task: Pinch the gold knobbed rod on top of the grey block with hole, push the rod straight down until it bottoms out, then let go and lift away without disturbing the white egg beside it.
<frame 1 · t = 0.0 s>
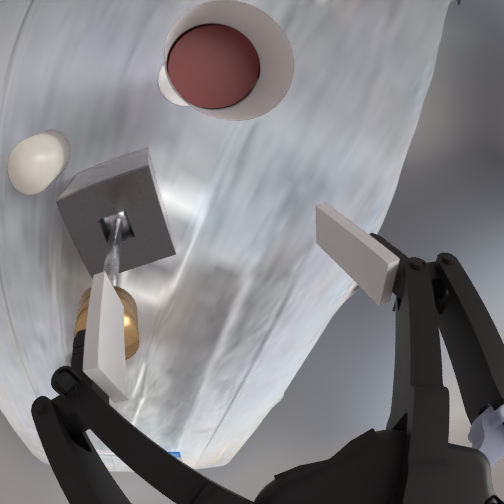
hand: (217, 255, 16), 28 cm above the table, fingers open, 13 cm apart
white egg: (49, 153, 31), on the table
ink box: (170, 454, 89), on the table
gold knobbed rod: (111, 263, 23), point 19 cm above the table, slide at 0.2 cm, touching gripper
grey block with hole: (122, 193, 38), on the table
wineglass: (187, 78, 33), on the table
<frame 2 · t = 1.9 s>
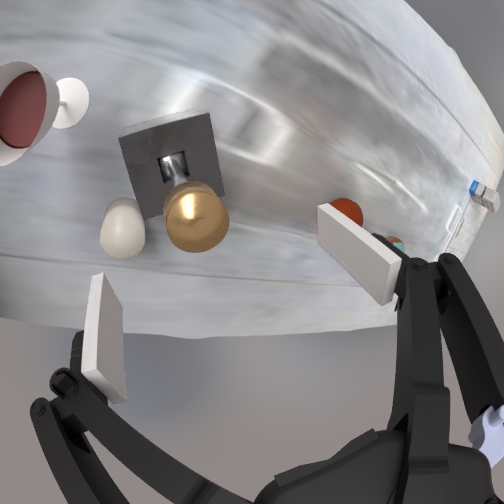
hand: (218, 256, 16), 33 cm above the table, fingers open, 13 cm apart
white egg: (124, 216, 45), on the table
ink box: (473, 190, 80), on the table
gold knobbed rod: (181, 184, 27), point 19 cm above the table, slide at 0.2 cm
grey block with hole: (166, 149, 42), on the table
donut: (382, 252, 75), on the table
fruit: (333, 211, 61), on the table
wineglass: (65, 103, 32), on the table
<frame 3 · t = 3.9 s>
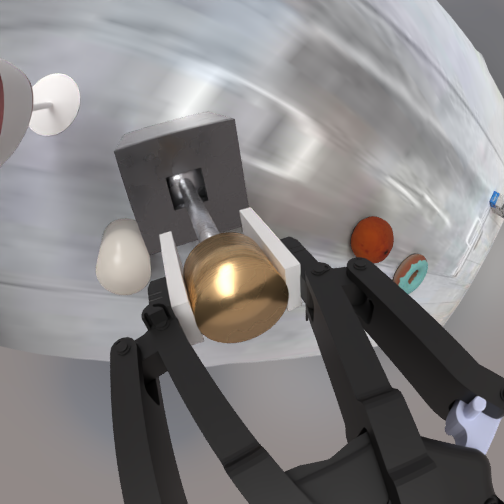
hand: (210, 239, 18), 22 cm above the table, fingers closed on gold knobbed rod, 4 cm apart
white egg: (125, 240, 38), on the table
ink box: (493, 201, 73), on the table
gold knobbed rod: (201, 221, 20), point 19 cm above the table, slide at 0.2 cm, touching gripper
grey block with hole: (175, 160, 35), on the table
donut: (405, 270, 68), on the table
fruit: (361, 230, 54), on the table
wineglass: (51, 104, 25), on the table
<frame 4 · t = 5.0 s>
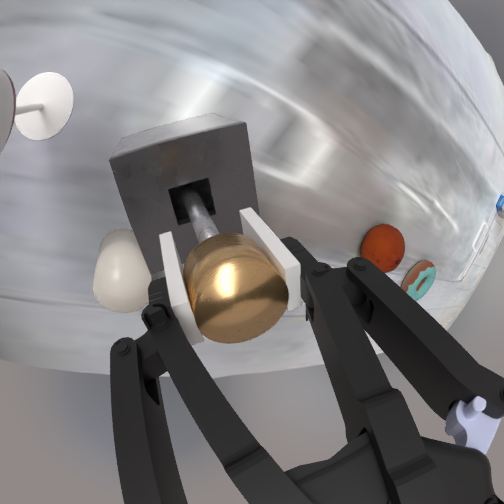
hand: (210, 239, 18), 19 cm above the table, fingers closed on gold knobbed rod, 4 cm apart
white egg: (123, 252, 36), on the table
ink box: (499, 204, 70), on the table
gold knobbed rod: (201, 221, 20), point 16 cm above the table, slide at 3.5 cm, touching gripper
grey block with hole: (177, 167, 33), on the table
donut: (413, 276, 65), on the table
fruit: (371, 238, 51), on the table
wineglass: (42, 106, 22), on the table
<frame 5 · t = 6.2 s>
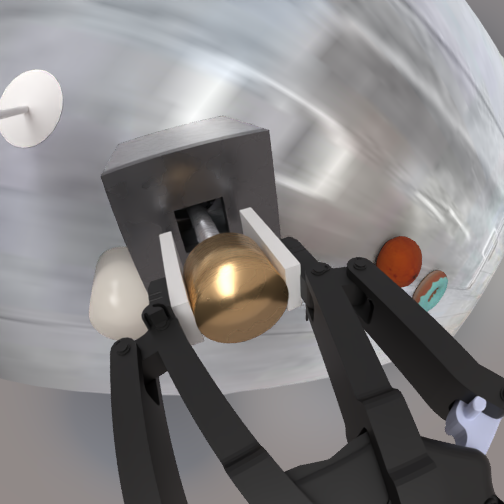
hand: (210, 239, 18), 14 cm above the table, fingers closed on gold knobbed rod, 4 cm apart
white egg: (123, 271, 32), on the table
gold knobbed rod: (201, 221, 20), point 11 cm above the table, slide at 8.1 cm, touching gripper
grey block with hole: (181, 177, 29), on the table
donut: (424, 286, 62), on the table
fruit: (386, 250, 48), on the table
wineglass: (28, 108, 19), on the table
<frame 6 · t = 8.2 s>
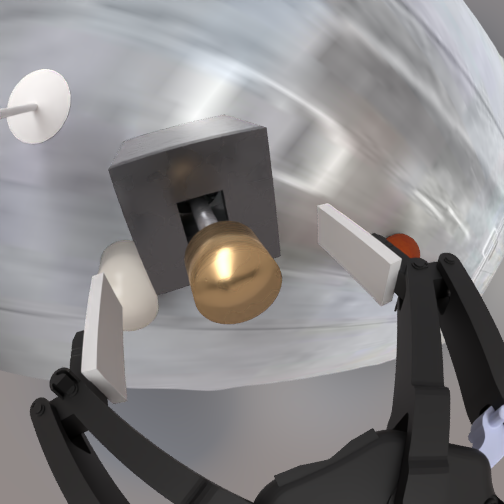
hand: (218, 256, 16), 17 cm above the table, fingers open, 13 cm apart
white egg: (126, 264, 33), on the table
gold knobbed rod: (202, 213, 21), point 11 cm above the table, slide at 8.1 cm
grey block with hole: (184, 173, 30), on the table
fruit: (385, 247, 48), on the table
wineglass: (37, 106, 20), on the table
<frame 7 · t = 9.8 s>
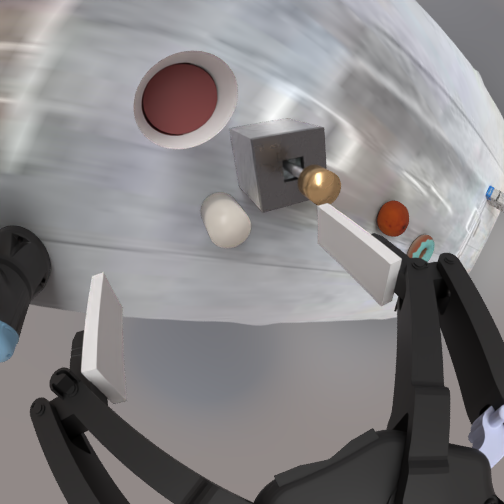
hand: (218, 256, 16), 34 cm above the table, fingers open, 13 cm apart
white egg: (218, 210, 53), on the table
ink box: (488, 194, 85), on the table
gold knobbed rod: (291, 168, 40), point 11 cm above the table, slide at 8.1 cm
grey block with hole: (263, 151, 49), on the table
donut: (416, 248, 82), on the table
fruit: (384, 211, 68), on the table
wineglass: (170, 97, 39), on the table
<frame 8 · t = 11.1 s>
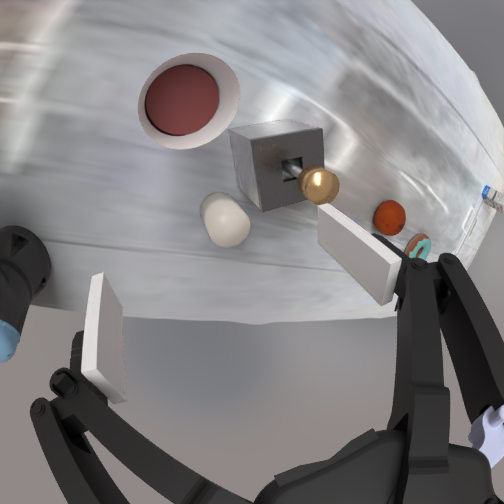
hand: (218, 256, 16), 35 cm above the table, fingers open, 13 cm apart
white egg: (218, 209, 53), on the table
ink box: (485, 193, 87), on the table
gold knobbed rod: (290, 168, 41), point 11 cm above the table, slide at 8.1 cm
grey block with hole: (262, 152, 50), on the table
donut: (413, 247, 83), on the table
fruit: (380, 211, 69), on the table
wineglass: (170, 98, 40), on the table
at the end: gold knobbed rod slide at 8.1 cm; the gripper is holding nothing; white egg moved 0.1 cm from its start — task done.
